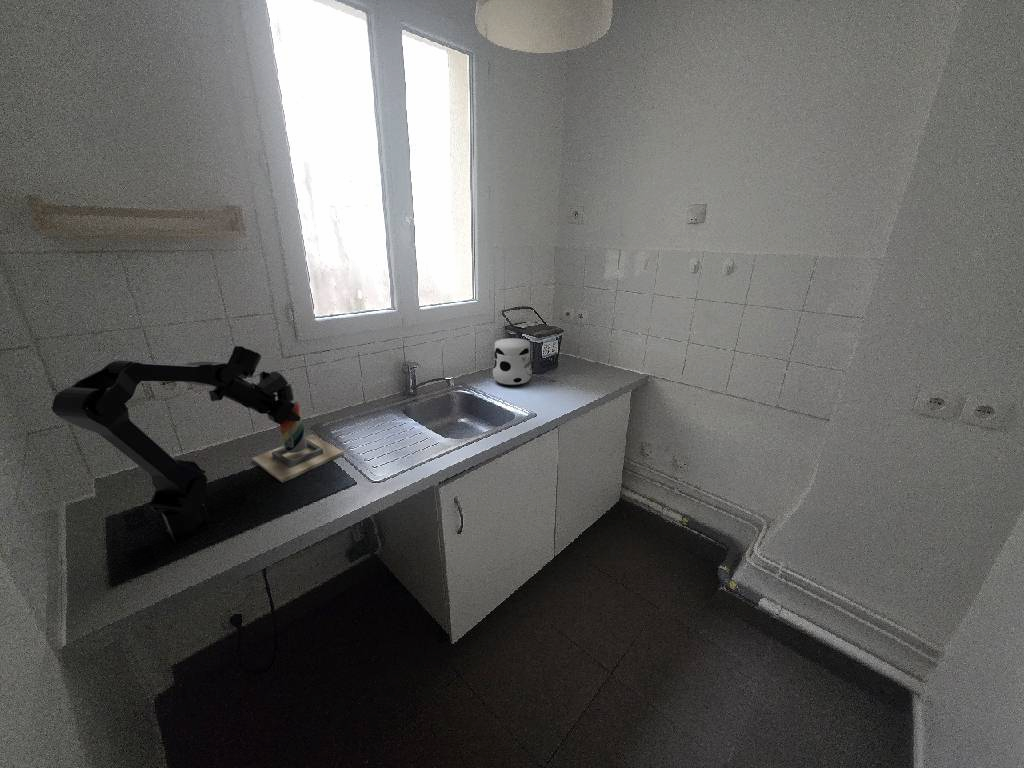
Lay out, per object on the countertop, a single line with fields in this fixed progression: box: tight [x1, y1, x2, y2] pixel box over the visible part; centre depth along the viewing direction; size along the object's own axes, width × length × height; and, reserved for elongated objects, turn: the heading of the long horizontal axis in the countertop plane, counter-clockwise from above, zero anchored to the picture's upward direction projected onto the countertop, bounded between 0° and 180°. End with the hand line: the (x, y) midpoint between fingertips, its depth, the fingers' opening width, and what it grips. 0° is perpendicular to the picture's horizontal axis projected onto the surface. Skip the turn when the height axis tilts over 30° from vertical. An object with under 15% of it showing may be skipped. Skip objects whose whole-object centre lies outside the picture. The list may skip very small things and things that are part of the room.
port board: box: [251, 434, 345, 484], centre depth 118 cm, size 18×18×2 cm
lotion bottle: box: [275, 383, 307, 453], centre depth 113 cm, size 6×6×20 cm
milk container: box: [492, 337, 533, 387], centre depth 174 cm, size 17×17×18 cm
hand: (294, 416), depth 114 cm, fingers closed on lotion bottle, 5 cm apart
